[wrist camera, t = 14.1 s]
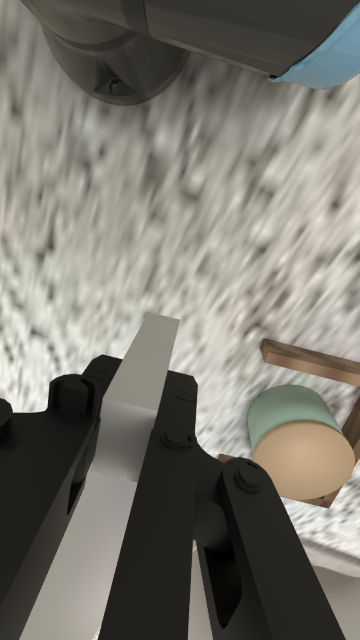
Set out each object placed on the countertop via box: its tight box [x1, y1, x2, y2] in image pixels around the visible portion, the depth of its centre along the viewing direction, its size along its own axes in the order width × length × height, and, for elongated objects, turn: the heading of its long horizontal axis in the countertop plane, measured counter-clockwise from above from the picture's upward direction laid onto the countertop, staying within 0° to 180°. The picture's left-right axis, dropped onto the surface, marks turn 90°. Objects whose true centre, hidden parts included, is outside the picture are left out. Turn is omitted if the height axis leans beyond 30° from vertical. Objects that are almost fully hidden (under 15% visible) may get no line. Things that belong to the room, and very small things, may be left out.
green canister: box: [247, 385, 355, 500], centre depth 43 cm, size 12×12×9 cm
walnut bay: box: [218, 339, 360, 509], centre depth 45 cm, size 18×23×4 cm
